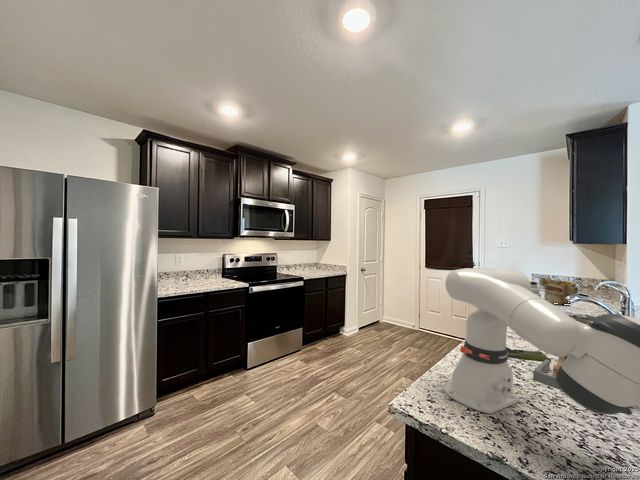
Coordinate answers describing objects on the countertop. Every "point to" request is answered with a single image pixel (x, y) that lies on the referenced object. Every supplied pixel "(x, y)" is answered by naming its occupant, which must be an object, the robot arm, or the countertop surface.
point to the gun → (527, 355)
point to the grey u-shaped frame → (541, 376)
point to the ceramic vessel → (557, 290)
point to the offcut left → (555, 370)
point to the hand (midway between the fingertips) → (571, 350)
